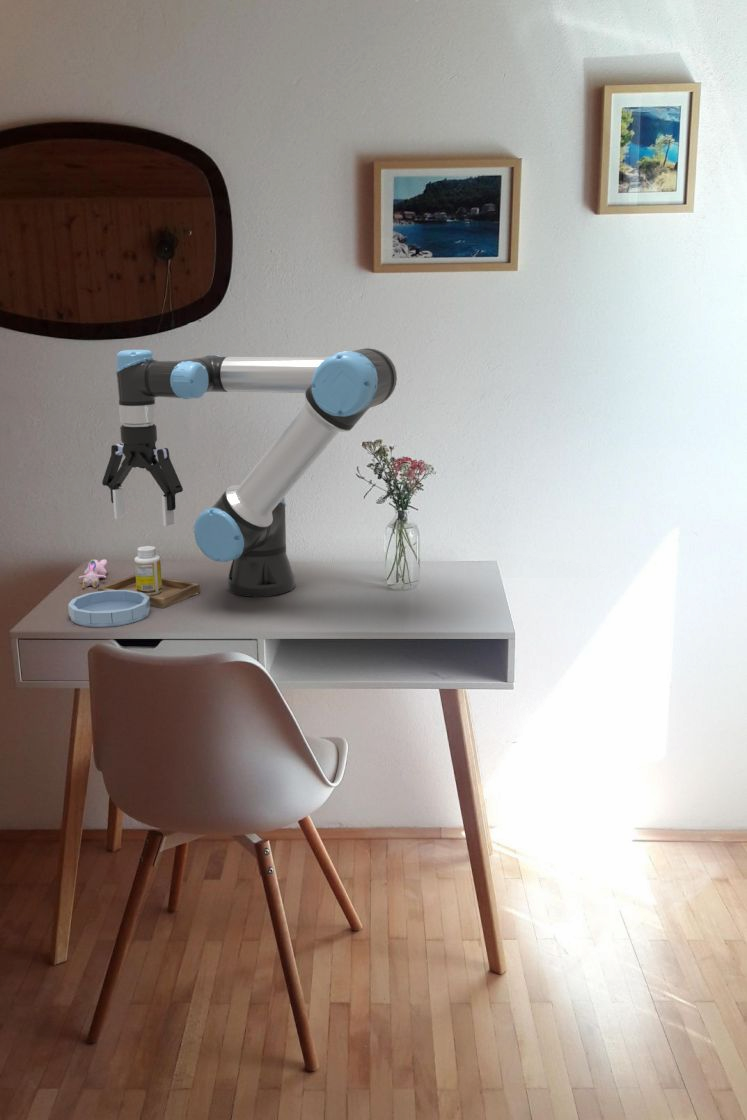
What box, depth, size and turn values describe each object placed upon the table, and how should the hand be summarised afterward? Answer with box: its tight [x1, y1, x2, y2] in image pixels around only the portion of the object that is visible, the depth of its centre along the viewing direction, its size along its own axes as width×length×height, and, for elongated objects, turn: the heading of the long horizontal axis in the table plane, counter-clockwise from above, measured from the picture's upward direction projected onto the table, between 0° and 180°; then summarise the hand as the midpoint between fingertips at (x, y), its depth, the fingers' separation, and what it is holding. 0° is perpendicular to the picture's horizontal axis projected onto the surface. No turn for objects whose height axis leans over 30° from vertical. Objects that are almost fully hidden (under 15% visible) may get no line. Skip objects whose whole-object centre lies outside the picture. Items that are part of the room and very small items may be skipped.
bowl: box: [67, 590, 151, 628], centre depth 222 cm, size 16×16×3 cm
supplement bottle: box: [134, 545, 162, 595], centre depth 235 cm, size 6×6×10 cm
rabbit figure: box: [78, 558, 108, 589], centre depth 247 cm, size 6×6×15 cm
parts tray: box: [97, 573, 201, 609], centre depth 236 cm, size 18×13×2 cm
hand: (144, 521), depth 232 cm, fingers open, 13 cm apart
